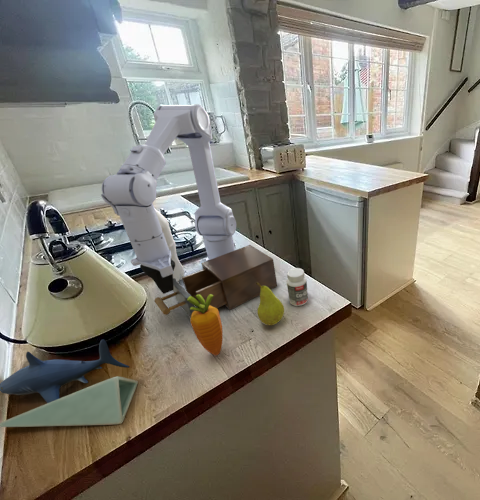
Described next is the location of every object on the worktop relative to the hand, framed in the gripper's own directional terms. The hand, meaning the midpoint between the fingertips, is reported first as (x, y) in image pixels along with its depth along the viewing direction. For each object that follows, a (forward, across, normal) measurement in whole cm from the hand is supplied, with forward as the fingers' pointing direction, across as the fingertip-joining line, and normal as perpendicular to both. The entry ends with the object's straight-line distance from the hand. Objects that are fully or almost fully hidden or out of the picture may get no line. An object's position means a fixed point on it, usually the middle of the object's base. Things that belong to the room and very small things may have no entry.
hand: (167, 290), depth 65 cm
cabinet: (+8, 0, +16) cm, 18 cm away
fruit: (+8, +17, +14) cm, 24 cm away
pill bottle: (+8, +15, +24) cm, 29 cm away
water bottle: (+8, -18, +4) cm, 20 cm away
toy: (+8, +6, -19) cm, 21 cm away
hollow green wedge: (+3, +8, -28) cm, 30 cm away
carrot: (+8, +17, +2) cm, 19 cm away
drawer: (+7, 0, +6) cm, 9 cm away
